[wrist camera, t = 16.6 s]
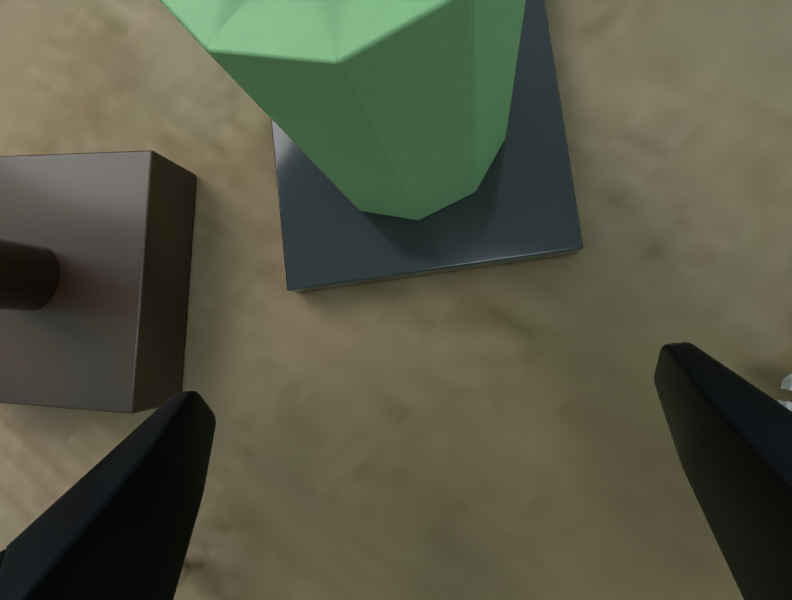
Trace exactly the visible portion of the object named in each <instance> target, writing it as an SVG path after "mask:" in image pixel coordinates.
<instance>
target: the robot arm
mask: <svg viewBox="0 0 792 600" xmlns="http://www.w3.org/2000/svg"><path fill="white" fill-rule="evenodd" d="M654 381H655V386H656V390H657V393H658V396H659V399H660V402H661V405H662V408H663V411H664V414H665V417H666V420H667V423H668V426H669V429H670V432H671V435H672V438H673V441H674V444H675V447H676V450H677V453H678V456H679V459H680V461H681V464H682V467H683V469H684V471H685V474H686V476H687V478H688V481H689V483H690V485H691V487H692V489H693V491H694V494H695V496H696V498H697V500H698V502H699V504H700V506H701V509H702V511H703V513H704V515H705V517H706V519H707V521H708V524H709V526H710V528H711V530H712V532H713V534H714V536H715V538H716V541H717V543H718V545H719V547H720V549H721V551H722V553H723V556H724V558H725V560H726V562H727V564H728V566H729V568H730V571H731V573H732V575H733V577H734V579H735V581H736V583H737V586H738V588H739V590H740V592H741V594H742V596H743V598H744V600H792V411H790V410H789V409H788V408H786V407H785V406H783V405H782V404H780V403H779V402H777V401H776V400H774V399H773V398H771V397H770V396H768V395H767V394H765V393H764V392H762V391H761V390H760V389H758V388H757V387H755V386H754V385H752V384H751V383H749V382H748V381H746V380H745V379H743V378H742V377H740V376H739V375H737V374H736V373H734V372H733V371H732V370H730V369H729V368H727V367H726V366H724V365H723V364H721V363H720V362H718V361H717V360H715V359H714V358H712V357H711V356H709V355H708V354H706V353H705V352H704V351H702V350H701V349H699V348H698V347H696V346H695V345H693V344H691V343H687V342H682V343H672V344H665V345H664V346H663V347H662V348H661V350H660V354H659V358H658V362H657V366H656V370H655V375H654ZM215 425H216V420H215V415H214V413H213V411H212V410H211V409H210V407H209V406H208V405H207V404H206V402H205V401H204V400H203V398H202V397H201V396H200V394H199V393H197V392H195V391H187V392H179V393H176V394H174V395H173V396H171V397H170V398H169V399H168V400H167V401H166V402H165V403H164V404H163V405H162V406H160V407H159V408H158V409H157V410H156V411H155V412H154V413H153V414H152V415H151V416H149V417H148V418H147V419H146V420H145V421H144V422H143V423H142V424H141V425H140V426H138V427H137V428H136V429H135V430H134V431H133V432H132V433H131V434H130V435H129V436H128V437H126V438H125V439H124V440H123V441H122V442H121V443H120V444H119V445H118V446H117V447H115V448H114V449H113V450H112V451H111V452H110V453H109V454H108V455H107V456H106V457H104V458H103V459H102V460H101V461H100V462H99V463H98V464H97V465H96V466H95V467H93V468H92V469H91V470H90V471H89V472H88V473H87V474H86V475H85V476H84V477H82V478H81V479H80V480H79V481H78V482H77V483H76V484H75V485H74V486H73V487H71V488H70V489H69V490H68V491H67V492H66V493H65V494H64V495H63V496H62V497H60V498H59V499H58V500H57V501H56V502H55V503H54V504H53V505H52V506H51V507H49V508H48V509H47V510H46V511H45V512H44V513H43V514H42V515H41V516H40V517H38V518H37V519H36V520H35V521H34V522H33V523H32V524H31V525H30V526H29V527H27V528H26V529H25V530H24V531H23V532H22V533H21V534H20V535H19V536H18V537H16V538H15V539H14V540H13V541H12V542H11V543H10V544H9V545H8V546H7V548H6V550H2V551H1V552H0V600H173V599H174V595H175V592H176V588H177V585H178V581H179V578H180V574H181V571H182V567H183V564H184V560H185V556H186V553H187V549H188V546H189V542H190V539H191V535H192V532H193V528H194V525H195V521H196V518H197V514H198V511H199V507H200V504H201V500H202V496H203V491H204V487H205V482H206V476H207V470H208V465H209V459H210V454H211V448H212V442H213V437H214V431H215Z"/></svg>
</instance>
